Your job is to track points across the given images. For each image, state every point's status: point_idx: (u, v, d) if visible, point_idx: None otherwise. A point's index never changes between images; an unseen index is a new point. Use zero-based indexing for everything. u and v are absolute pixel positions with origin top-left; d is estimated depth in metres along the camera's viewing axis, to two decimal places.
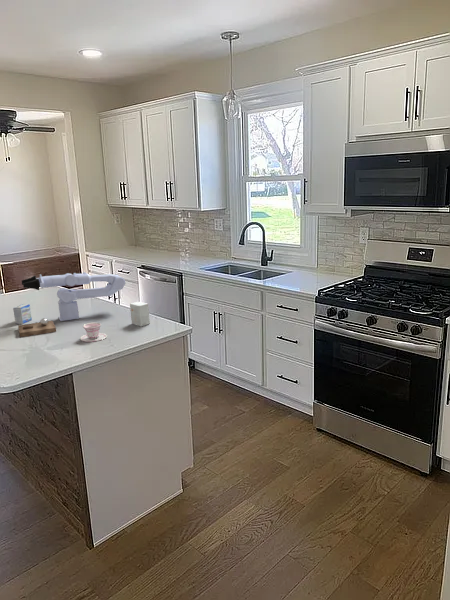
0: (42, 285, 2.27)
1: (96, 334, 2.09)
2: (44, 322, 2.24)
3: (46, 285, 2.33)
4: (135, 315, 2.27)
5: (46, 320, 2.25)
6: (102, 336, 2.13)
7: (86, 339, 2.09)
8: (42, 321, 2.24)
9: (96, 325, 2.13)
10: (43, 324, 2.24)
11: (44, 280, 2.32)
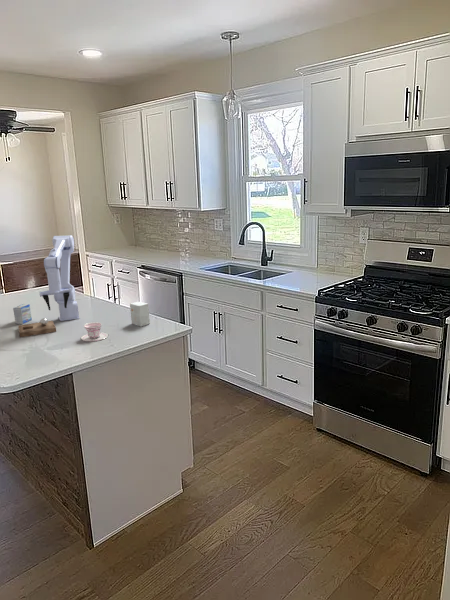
0: (71, 290, 2.28)
1: (97, 334, 2.10)
2: (44, 322, 2.24)
3: None
4: (135, 315, 2.27)
5: (46, 320, 2.25)
6: (103, 336, 2.13)
7: (87, 339, 2.09)
8: (42, 321, 2.24)
9: (97, 325, 2.13)
10: (43, 324, 2.24)
11: (60, 288, 2.24)
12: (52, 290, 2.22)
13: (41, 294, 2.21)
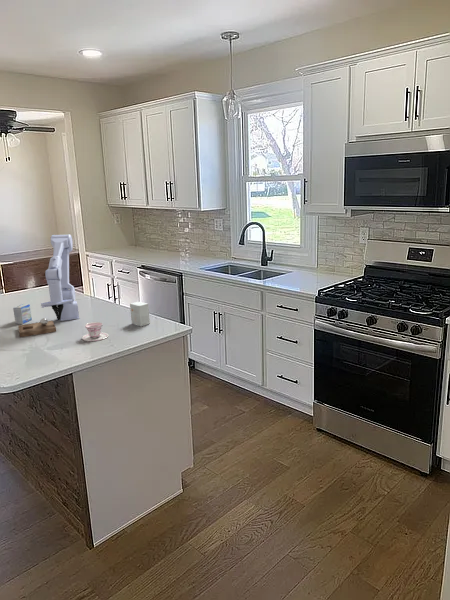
0: None
1: (98, 333, 2.10)
2: (44, 322, 2.24)
3: None
4: (135, 315, 2.27)
5: (46, 320, 2.25)
6: (104, 335, 2.13)
7: (88, 338, 2.10)
8: (42, 321, 2.24)
9: (98, 324, 2.14)
10: (43, 324, 2.24)
11: (62, 299, 2.26)
12: (53, 301, 2.23)
13: (42, 305, 2.22)
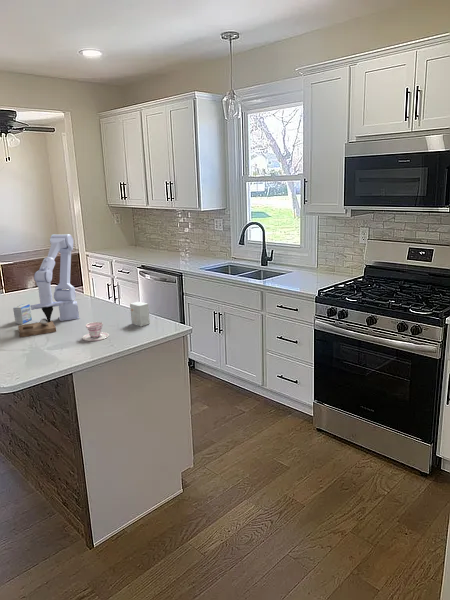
0: None
1: (98, 333, 2.10)
2: (44, 322, 2.24)
3: None
4: (135, 315, 2.27)
5: (46, 320, 2.25)
6: (104, 335, 2.14)
7: (88, 338, 2.10)
8: (42, 321, 2.24)
9: (98, 324, 2.14)
10: (43, 324, 2.24)
11: (52, 301, 2.24)
12: (43, 303, 2.21)
13: (32, 307, 2.21)
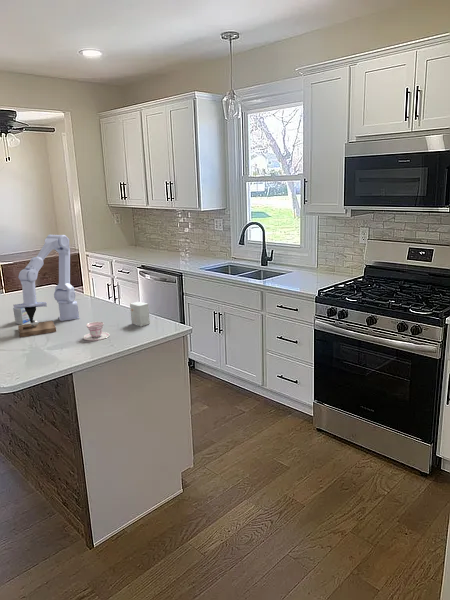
0: None
1: (99, 333, 2.11)
2: (35, 324, 2.22)
3: None
4: (135, 315, 2.27)
5: (32, 324, 2.21)
6: (105, 335, 2.14)
7: (89, 338, 2.11)
8: (36, 326, 2.22)
9: (99, 324, 2.15)
10: (37, 323, 2.22)
11: (35, 301, 2.20)
12: (26, 303, 2.17)
13: (15, 307, 2.17)
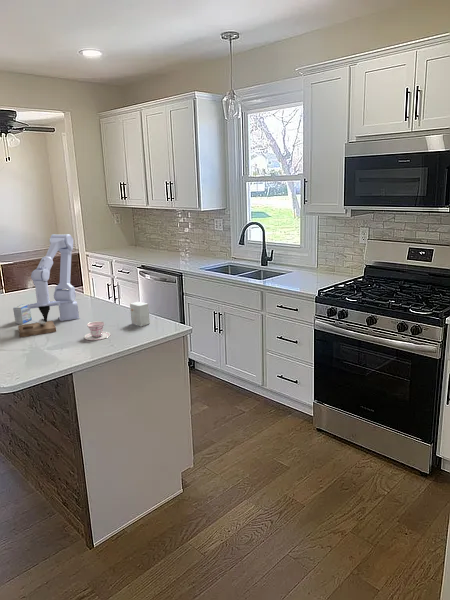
0: None
1: (100, 333, 2.11)
2: (42, 323, 2.23)
3: None
4: (135, 315, 2.27)
5: (43, 320, 2.23)
6: (106, 335, 2.14)
7: (90, 338, 2.11)
8: (40, 323, 2.23)
9: (100, 324, 2.15)
10: (42, 325, 2.24)
11: (49, 301, 2.23)
12: (40, 303, 2.20)
13: (29, 307, 2.19)
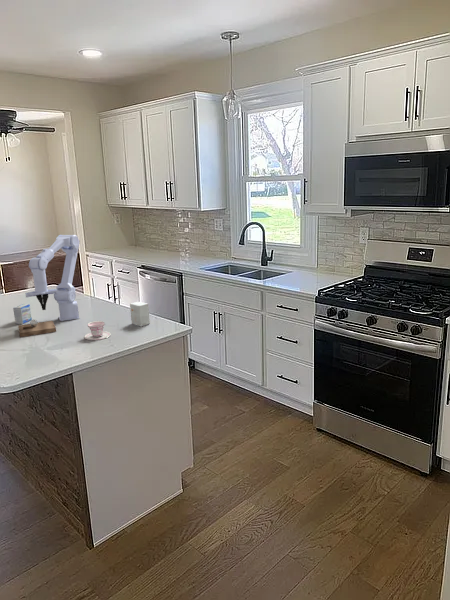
0: None
1: (100, 332, 2.11)
2: (33, 324, 2.22)
3: None
4: (135, 315, 2.27)
5: (30, 324, 2.22)
6: (106, 334, 2.15)
7: (90, 337, 2.11)
8: (34, 325, 2.23)
9: (100, 324, 2.15)
10: (35, 322, 2.22)
11: (47, 289, 2.24)
12: (38, 291, 2.21)
13: (27, 295, 2.21)
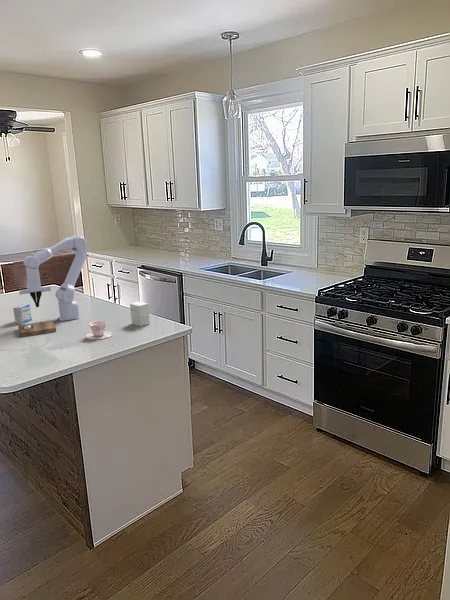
0: (50, 288, 2.33)
1: (101, 332, 2.12)
2: None
3: None
4: (135, 315, 2.27)
5: None
6: (107, 334, 2.15)
7: (92, 337, 2.12)
8: None
9: (101, 323, 2.16)
10: None
11: (40, 286, 2.29)
12: (31, 288, 2.27)
13: (21, 292, 2.26)
